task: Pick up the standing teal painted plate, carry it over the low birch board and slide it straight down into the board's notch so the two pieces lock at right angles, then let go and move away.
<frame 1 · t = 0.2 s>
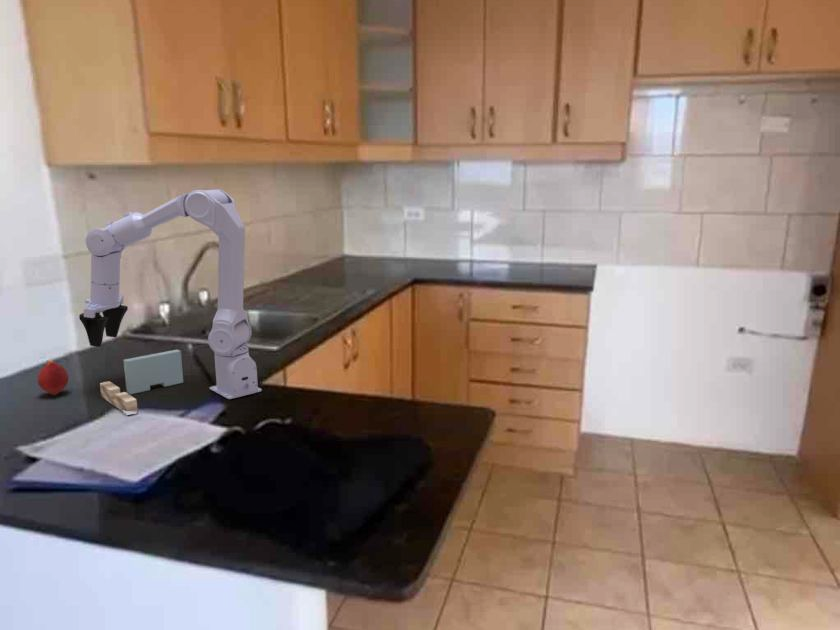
hand: (103, 341, 144), 10 cm above the worktop, tool pointing down, fingers open, 7 cm apart
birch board: (118, 404, 134), on the worktop
teal plate: (155, 387, 145), on the worktop
onion: (55, 395, 140), on the worktop
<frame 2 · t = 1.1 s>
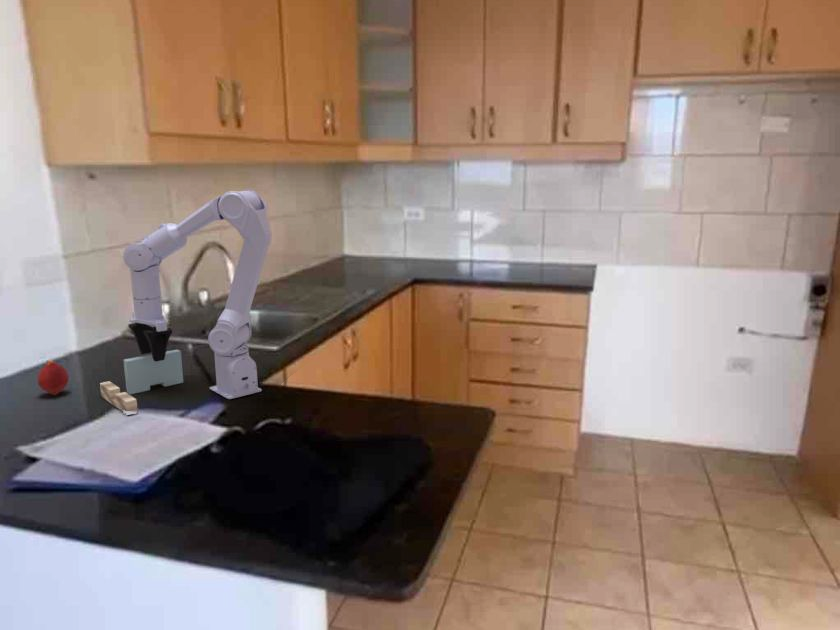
hand: (152, 356, 144), 7 cm above the worktop, tool pointing down, fingers open, 7 cm apart
nothing on the worktop moved.
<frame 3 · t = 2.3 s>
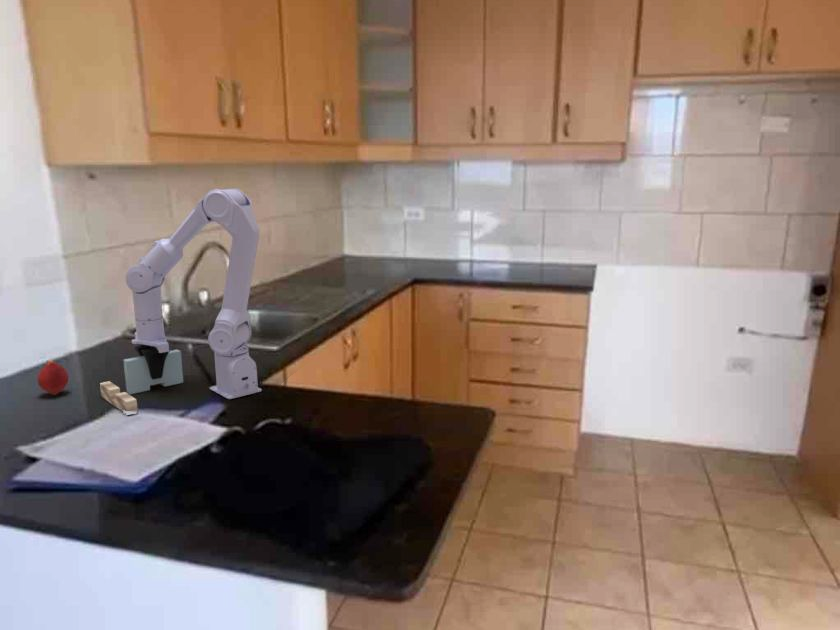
hand: (154, 377, 145), 2 cm above the worktop, tool pointing down, fingers closed on teal plate, 2 cm apart
teal plate: (155, 387, 145), on the worktop, touching gripper
everything else where it was.
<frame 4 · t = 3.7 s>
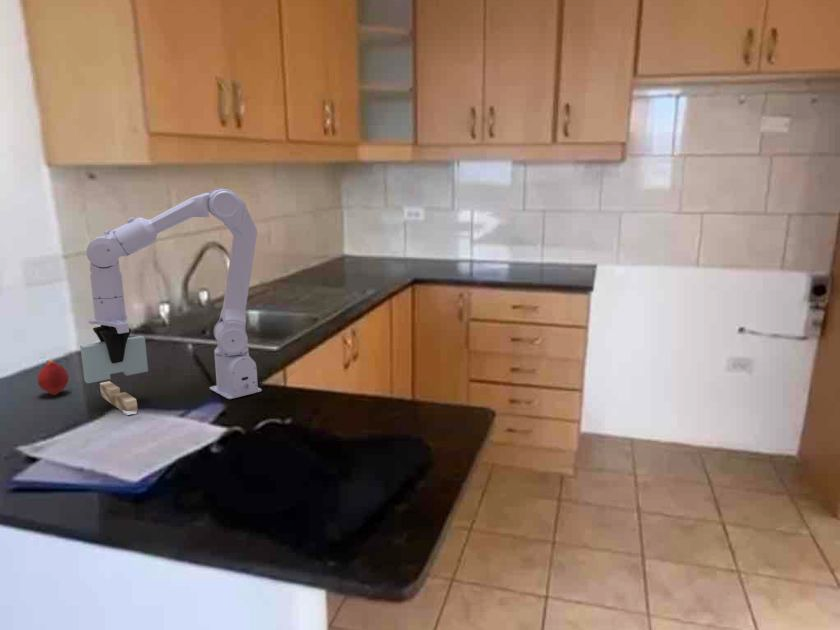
hand: (115, 360, 133), 9 cm above the worktop, tool pointing down, fingers closed on teal plate
teal plate: (117, 376, 133), point 6 cm above the worktop, touching gripper
everything else where it was.
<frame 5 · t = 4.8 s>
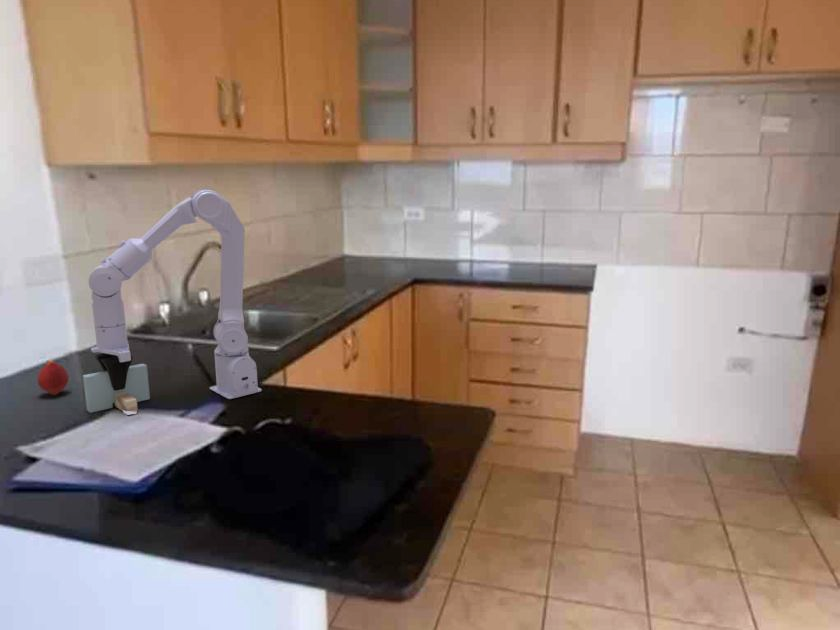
hand: (117, 387, 133), 4 cm above the worktop, tool pointing down, fingers closed on teal plate, 2 cm apart
teal plate: (119, 404, 134), on the worktop, touching gripper
everything else where it was.
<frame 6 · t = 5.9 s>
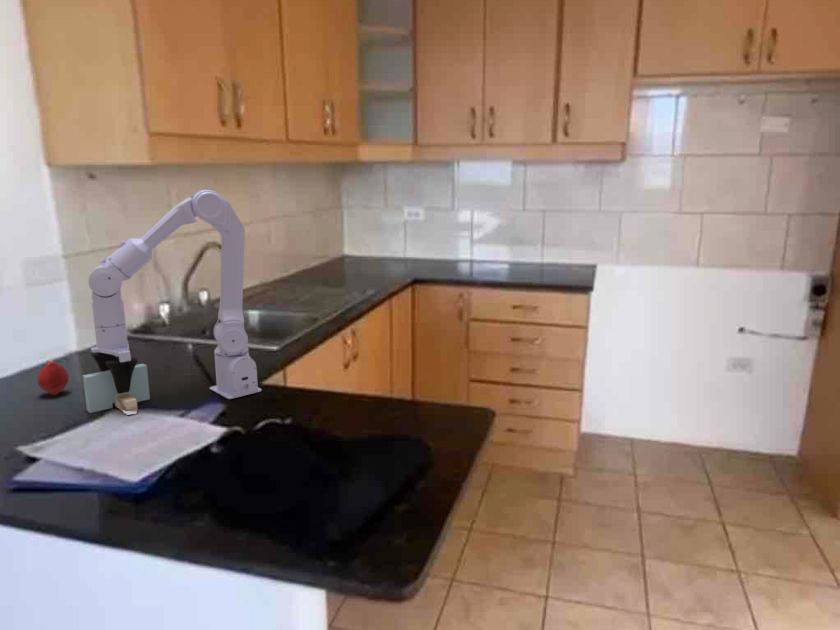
hand: (117, 387, 133), 4 cm above the worktop, tool pointing down, fingers open, 7 cm apart
teal plate: (119, 404, 134), on the worktop, touching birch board
everything else where it was.
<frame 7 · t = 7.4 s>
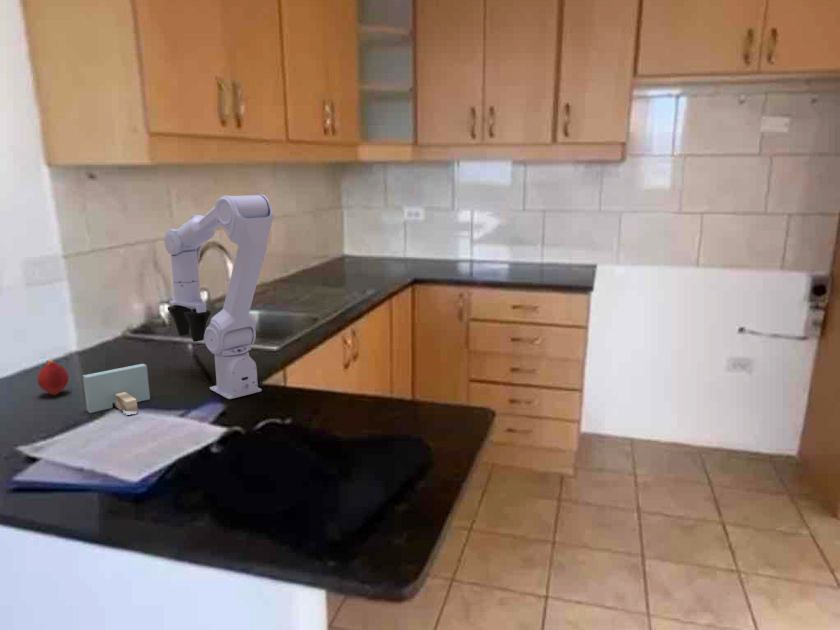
hand: (190, 337, 151), 9 cm above the worktop, tool pointing down, fingers open, 7 cm apart
nothing on the worktop moved.
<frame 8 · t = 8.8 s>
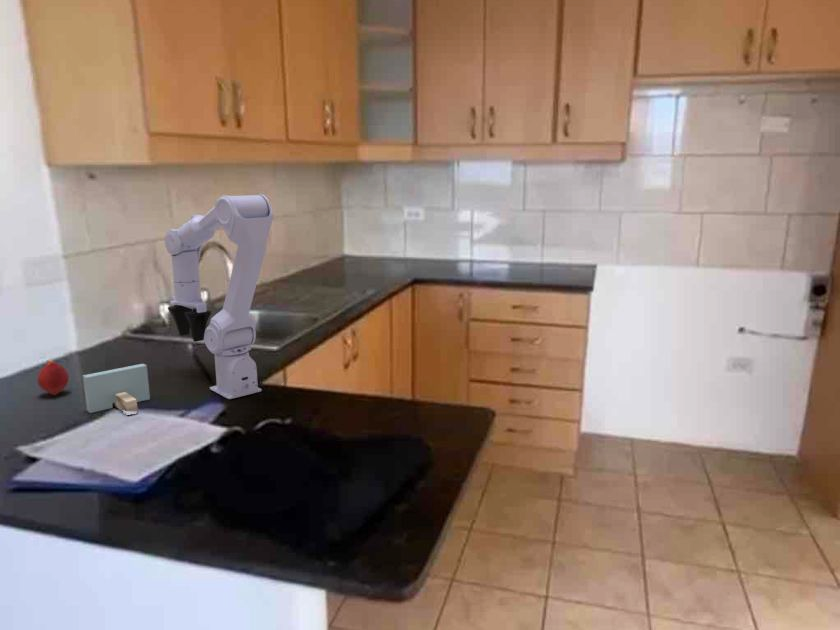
hand: (191, 337, 151), 9 cm above the worktop, tool pointing down, fingers open, 7 cm apart
nothing on the worktop moved.
at the end: teal plate 0.0 cm off-centre on the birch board, point 0.0 cm above the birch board's base; teal plate tilted 0°; the gripper is holding nothing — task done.
